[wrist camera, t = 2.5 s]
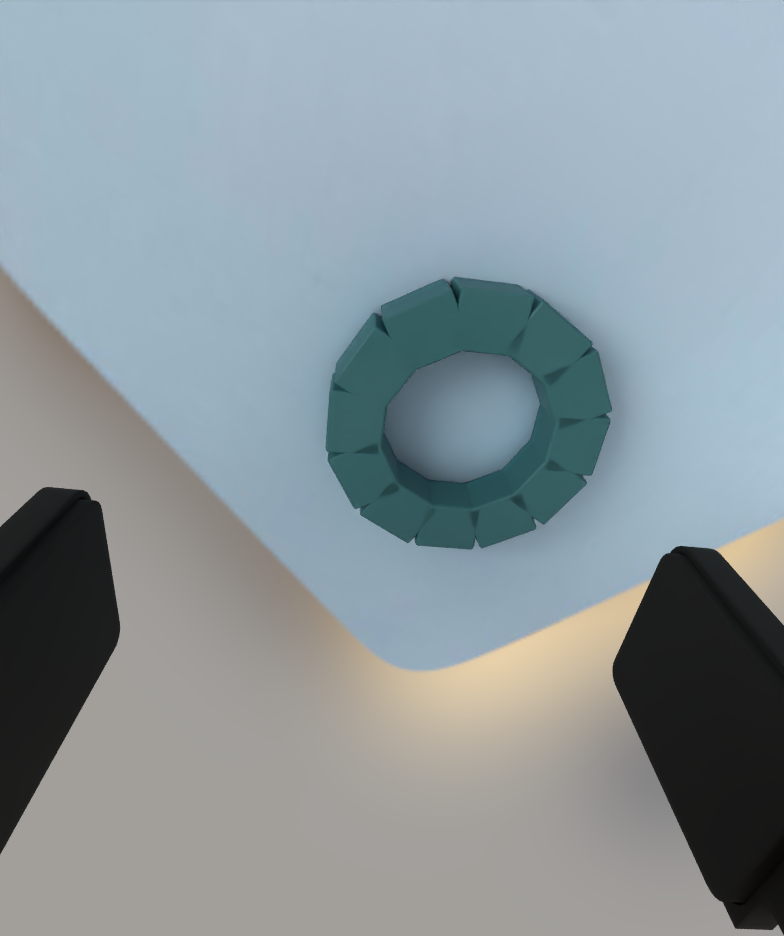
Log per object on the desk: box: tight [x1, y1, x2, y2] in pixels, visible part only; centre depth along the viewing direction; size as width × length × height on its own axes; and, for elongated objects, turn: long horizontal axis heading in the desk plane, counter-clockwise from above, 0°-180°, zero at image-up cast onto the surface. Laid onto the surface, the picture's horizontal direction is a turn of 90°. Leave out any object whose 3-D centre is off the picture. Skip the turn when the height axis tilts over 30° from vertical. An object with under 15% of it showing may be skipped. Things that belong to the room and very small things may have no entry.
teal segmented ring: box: [326, 277, 612, 549], centre depth 16 cm, size 8×8×2 cm
